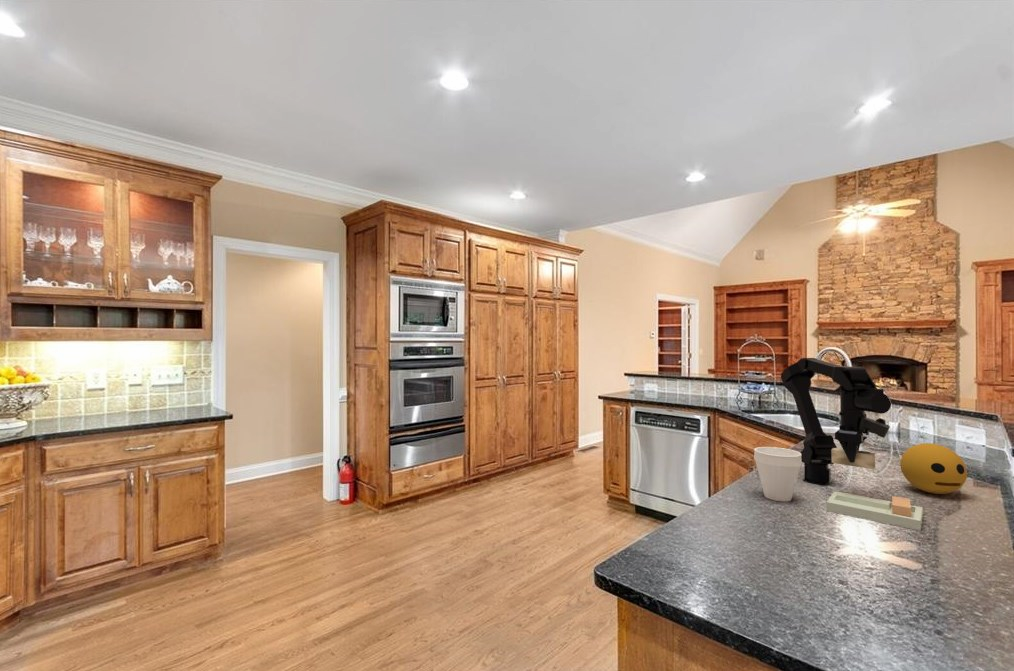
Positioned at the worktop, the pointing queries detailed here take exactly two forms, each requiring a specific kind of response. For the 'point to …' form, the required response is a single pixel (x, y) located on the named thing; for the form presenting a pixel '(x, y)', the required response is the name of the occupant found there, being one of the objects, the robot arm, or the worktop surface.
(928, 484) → the toy
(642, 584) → the worktop surface
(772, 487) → the cup
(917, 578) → the worktop surface
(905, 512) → the orange rectangular block
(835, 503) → the jig
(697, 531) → the worktop surface
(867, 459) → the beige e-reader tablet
